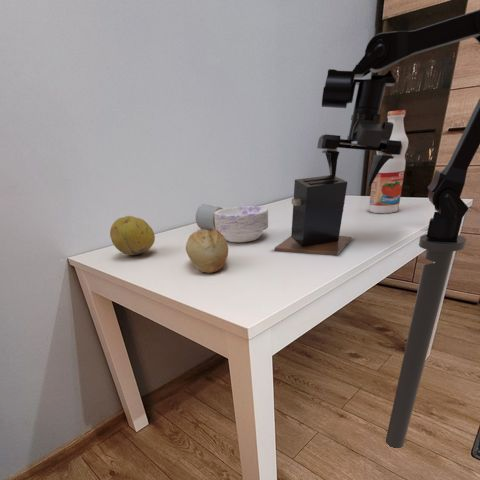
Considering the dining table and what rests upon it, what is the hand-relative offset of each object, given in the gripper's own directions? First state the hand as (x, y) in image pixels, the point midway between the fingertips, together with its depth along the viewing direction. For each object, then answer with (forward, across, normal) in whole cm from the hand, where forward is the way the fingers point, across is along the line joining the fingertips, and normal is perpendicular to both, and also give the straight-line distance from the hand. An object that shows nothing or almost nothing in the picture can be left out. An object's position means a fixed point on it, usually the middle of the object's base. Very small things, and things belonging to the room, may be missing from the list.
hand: (350, 185), depth 85 cm
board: (+14, -8, -4) cm, 17 cm away
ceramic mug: (+18, -34, +23) cm, 45 cm away
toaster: (+13, -7, -3) cm, 15 cm away
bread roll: (+19, -34, -13) cm, 41 cm away
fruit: (+22, -55, 0) cm, 59 cm away
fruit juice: (+9, +22, +30) cm, 38 cm away
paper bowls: (+17, -26, +8) cm, 32 cm away
